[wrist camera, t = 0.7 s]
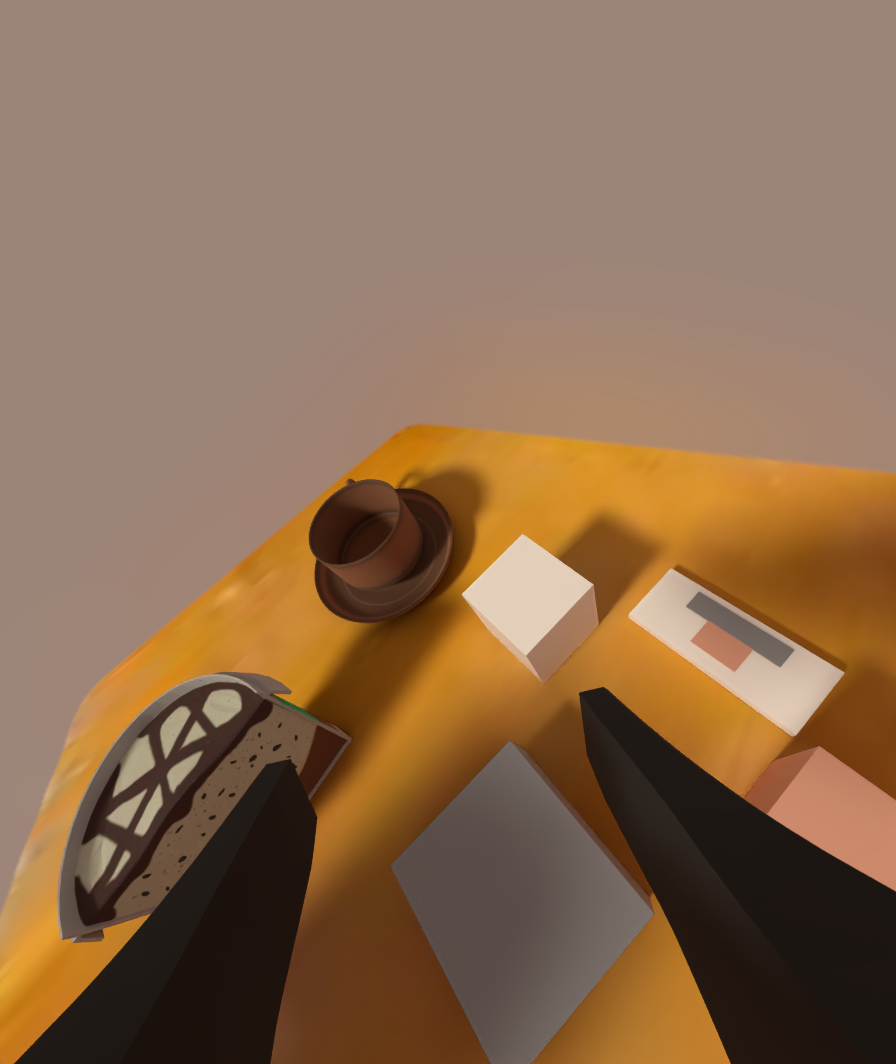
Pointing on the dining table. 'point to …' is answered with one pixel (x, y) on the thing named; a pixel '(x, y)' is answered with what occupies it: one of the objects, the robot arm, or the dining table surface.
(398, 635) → the dining table surface
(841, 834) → the terracotta block
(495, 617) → the off-white block
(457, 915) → the charcoal base block
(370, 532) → the cup and saucer
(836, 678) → the card
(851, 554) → the dining table surface
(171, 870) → the food container
